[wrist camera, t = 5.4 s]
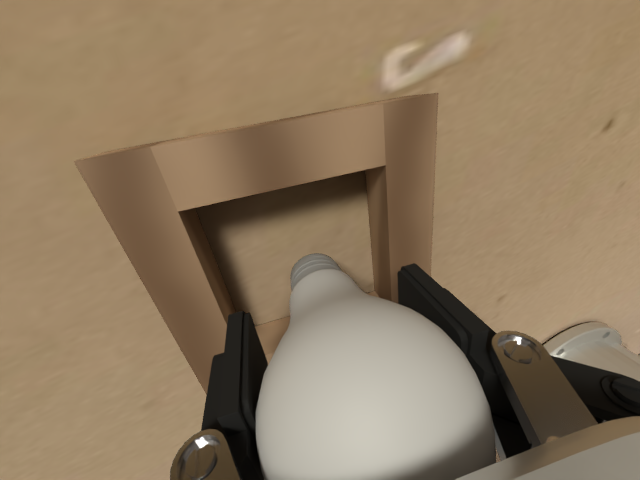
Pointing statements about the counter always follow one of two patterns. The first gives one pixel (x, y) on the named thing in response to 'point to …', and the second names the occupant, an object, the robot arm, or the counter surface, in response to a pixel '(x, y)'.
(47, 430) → the counter surface
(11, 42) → the counter surface
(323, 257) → the lightbulb
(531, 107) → the counter surface
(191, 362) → the socket block
